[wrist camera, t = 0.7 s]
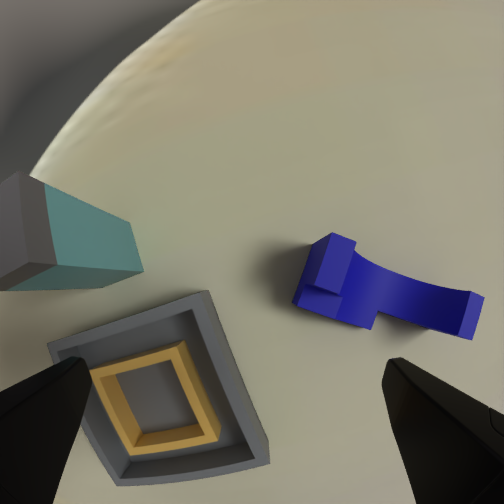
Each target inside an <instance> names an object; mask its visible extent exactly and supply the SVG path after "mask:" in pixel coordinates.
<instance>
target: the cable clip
mask: <svg viewBox="0 0 504 504" xmlns="http://www.w3.org/2000/svg"><path fill="white" fill-rule="evenodd" d="M355 245H356V242H355V241H353V240H350V239H348V238H345V237H343V236H340V235H338V234H335V233H333V232H332V233H330V234H328V235H327V236H325V237H323V238H322V239H320V240H319V241H317V242H315V243H314V244H313V245H312V248H311V251H310V253H309V256H308V259H307V262H306V265H305V268H304V271H303V273H302V276H301V279H300V282H299V285H298V287H297V290H296V293H295V296H294V298H293V301H292V303H293V304H295V305H296V306H298V307H301V308H304V309H307V310H310V311H312V312H315V313H318V314H321V315H324V316H327V317H330V318H333V319H336V320H340V321H343V322H347V323H350V324H353V325H356V326H359V327H363V328H366V329H369V330H371V328H372V326H373V323H374V320H375V317H376V315H377V312H378V311H379V312H382V313H385V314H388V315H391V316H394V317H396V318H399V319H402V320H405V321H408V322H411V323H414V324H417V325H419V326H422V327H425V328H428V329H431V330H435V331H439V332H442V333H446V334H450V335H453V336H457V337H461V338H465V339H468V340H472V339H473V336H474V333H475V329H476V326H477V323H478V319H479V316H480V312H481V309H482V305H483V301H484V297H482V296H480V295H478V294H476V293H474V292H472V291H463V290H456V289H450V288H445V287H440V286H436V285H432V284H428V283H425V282H421V281H418V280H415V279H412V278H409V277H406V276H403V275H400V274H398V273H395V272H392V271H390V270H387V269H385V268H383V267H381V266H378V265H376V264H374V263H372V262H370V261H368V260H367V259H365V258H363V257H362V256H360V255H359V254H358V253H357V252H356V251H355V250H354V249H355Z"/></svg>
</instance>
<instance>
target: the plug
mask: <svg viewBox="0 0 504 504" xmlns="http://www.w3.org/2000/svg"><path fill="white" fill-rule="evenodd" d="M142 272H144V270H143V267H142V263H141V260H140V257H139V253H138V250H137V246H136V243H135V239H134V236H133V232H132V229H131V225H130V223H129V222H127V221H125V220H123V219H120V218H118V217H116V216H114V215H112V214H110V213H107V212H105V211H103V210H101V209H99V208H97V207H94V206H92V205H90V204H88V203H86V202H84V201H81V200H79V199H77V198H75V197H73V196H71V195H69V194H67V193H64V192H62V191H60V190H58V189H56V188H54V187H52V186H50V185H48V184H45V183H43V182H41V181H39V180H37V179H35V178H33V177H31V176H29V175H27V174H25V173H23V172H20V171H17V172H16V173H14V174H13V175H11V176H10V177H9V178H7V179H6V180H5V181H3V182H2V183H1V184H0V291H28V290H61V289H87V288H103V287H105V286H108V285H110V284H113V283H116V282H118V281H121V280H123V279H126V278H129V277H131V276H134V275H137V274H139V273H142Z"/></svg>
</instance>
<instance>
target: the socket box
mask: <svg viewBox="0 0 504 504" xmlns="http://www.w3.org/2000/svg"><path fill="white" fill-rule="evenodd" d="M47 346H48V349H49V352H50V355H51V357H52V360H53V363H54V365H55V364H57V363H59V362H61V361H63V360H65V359H67V358H69V357H71V356H78V357H82V358H84V359H85V361H86V363H87V366H88V369H89V371H90V374H91V377H92V387H91V390H90V393H89V397H88V400H87V404H86V407H85V411H84V414H83V418H82V421H81V426H82V428H83V430H84V432H85V434H86V436H87V438H88V440H89V441H90V443H91V445H92V447H93V449H94V450H95V452H96V454H97V456H98V457H99V459H100V461H101V462H102V464H103V466H104V467H105V469H106V470H107V472H108V474H109V475H110V477H111V478H112V480H113V481H114V483H115V484H116V486H139V485H154V484H165V483H174V482H182V481H190V480H196V479H203V478H209V477H214V476H219V475H225V474H229V473H234V472H239V471H243V470H247V469H251V468H255V467H259V466H263V465H267V464H270V455H269V441H268V438H267V436H266V434H265V432H264V429H263V427H262V425H261V422H260V420H259V418H258V415H257V413H256V411H255V408H254V406H253V404H252V401H251V399H250V396H249V394H248V391H247V389H246V387H245V384H244V382H243V379H242V377H241V374H240V372H239V369H238V367H237V364H236V362H235V359H234V357H233V354H232V351H231V349H230V346H229V344H228V341H227V338H226V336H225V333H224V331H223V328H222V325H221V323H220V320H219V317H218V314H217V312H216V309H215V306H214V304H213V301H212V298H211V295H210V292H209V290H207V291H203V292H199V293H196V294H193V295H190V296H188V297H185V298H182V299H179V300H176V301H173V302H170V303H167V304H165V305H162V306H159V307H156V308H153V309H150V310H147V311H144V312H141V313H138V314H135V315H132V316H129V317H126V318H123V319H120V320H117V321H114V322H111V323H108V324H105V325H102V326H99V327H96V328H93V329H90V330H87V331H84V332H81V333H78V334H75V335H72V336H69V337H65V338H62V339H59V340H56V341H53V342H50V343H47Z"/></svg>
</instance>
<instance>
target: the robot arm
mask: <svg viewBox="0 0 504 504" xmlns="http://www.w3.org/2000/svg"><path fill="white" fill-rule="evenodd" d="M91 387H92V377H91V374H90V371H89V369H88V366H87V363H86V361H85V359H84V358H82V357H78V356H71V357H69V358H67V359H65V360H63V361H61V362H59V363H57V364H55V365H53V366H51V367H49V368H47V369H45V370H43V371H41V372H39V373H37V374H35V375H33V376H31V377H29V378H27V379H25V380H23V381H21V382H19V383H17V384H15V385H13V386H11V387H9V388H7V389H5V390H3V391H1V392H0V504H53V501H54V498H55V495H56V492H57V489H58V486H59V482H60V479H61V476H62V473H63V471H64V468H65V465H66V462H67V459H68V456H69V454H70V451H71V448H72V445H73V443H74V440H75V437H76V435H77V432H78V430H79V427H80V424H81V421H82V418H83V414H84V411H85V407H86V404H87V400H88V397H89V393H90V390H91ZM382 390H383V394H384V398H385V402H386V406H387V410H388V414H389V419H390V423H391V427H392V430H393V433H394V436H395V439H396V442H397V445H398V448H399V451H400V454H401V457H402V460H403V463H404V466H405V469H406V472H407V475H408V478H409V481H410V484H411V487H412V491H413V494H414V497H415V501H416V504H504V415H503V414H501V413H499V412H498V411H496V410H494V409H492V408H489V407H488V406H487V405H485V404H483V403H481V402H479V401H478V400H476V399H474V398H472V397H471V396H469V395H467V394H465V393H463V392H462V391H460V390H458V389H456V388H455V387H453V386H451V385H449V384H447V383H446V382H444V381H442V380H440V379H439V378H437V377H435V376H433V375H432V374H430V373H428V372H426V371H425V370H423V369H421V368H419V367H418V366H416V365H414V364H412V363H411V362H409V361H407V360H405V359H404V358H401V357H399V358H392V359H389V360H388V362H387V364H386V368H385V371H384V375H383V378H382Z"/></svg>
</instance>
